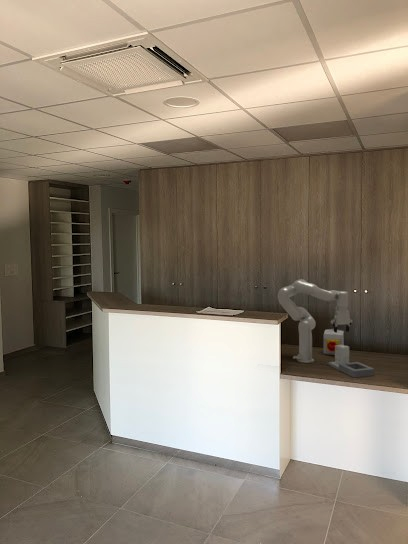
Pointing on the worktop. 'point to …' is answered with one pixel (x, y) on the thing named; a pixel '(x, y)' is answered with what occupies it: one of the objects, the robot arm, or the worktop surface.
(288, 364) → the worktop surface
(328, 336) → the electrical switch box
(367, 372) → the case
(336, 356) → the small box
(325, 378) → the worktop surface
